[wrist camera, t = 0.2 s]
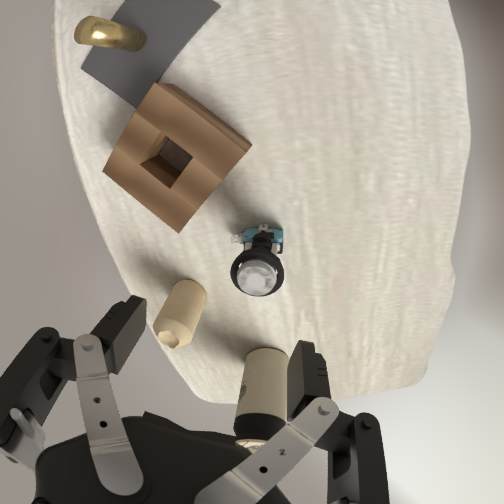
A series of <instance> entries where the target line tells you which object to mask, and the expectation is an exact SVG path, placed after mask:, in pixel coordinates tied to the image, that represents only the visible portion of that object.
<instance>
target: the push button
mask: <svg viewBox="0 0 504 504" xmlns="http://www.w3.org/2000/svg"><path fill="white" fill-rule="evenodd" d="M262 226H265V227H262ZM232 235H233V237H231V242H232V243H240V244H244V251H243V252H242V253H241V254H240V255H239V256H238V257H237V258H236V259H235V260H234V262H233V264H232V267H231V271H230V274H231V279H232V281H233V283H234V285H235V286H236V287H237V288H238V289H239V290H240V291H242V292H244V293H246V294H248V295H251V296H267V295H270V294H272V293H274V292H276V291H277V290H278V289H279V288H280V287H281V285H282V283H283V280H284V269H283V266H282V264H281V261H280V259H279V258H278V257H277V254H281V253H282V252H283V229H268V225H267V224H260V225H259V228H247V229H246V230H245V233H241V234H232ZM235 235H237V236H238V237H235ZM234 239H237V241H234ZM240 263H242V265H241V267H240V268H239V265H240ZM276 270H277V272H278V273H277V275H276V273H275V272H276Z"/></svg>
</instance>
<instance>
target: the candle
mask: <svg viewBox="0 0 504 504" xmlns="http://www.w3.org/2000/svg"><path fill="white" fill-rule="evenodd" d="M206 300H207V294H206V291H205V290H204V288H203V287H202V286H201V285H200V284H198V283H197V282H195V281H192V280H180V281H178V282H177V283H176V284H175V285H174V287H173V288H172V290H171V292H170V294H169V296H168V298H167V299H166V301H165V303H164V305H163V307H162V309H161V311H160V312H159V314H158V316H157V318H156V320H155V322H154V324H153V328H154V331H155V333H156V335H157V337H158V339H159V341H160V342H161V343H162V344H165V345H168V346H169V347H170V348H176V347H182V346H186V345H188V344H189V343H190V342H191V340H192V338H193V335H194V332H195V330H196V327H197V324H198V322H199V319H200V316H201V314H202V311H203V308H204V306H205V303H206Z"/></svg>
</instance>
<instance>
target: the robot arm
mask: <svg viewBox="0 0 504 504" xmlns="http://www.w3.org/2000/svg"><path fill="white" fill-rule="evenodd" d="M146 305H147V301H146V299H144V298H141V297H138V296H135V295H132V296H131V297H130V298H129V299H128V300H127V302H123V301H120V302H118V303H116V304H115V305H113V306H112V307H111V309H110V310H109V311H108V312H107V313H106V315H105V316H104V317H103V318H102V319H101V320H100V322H99V323H98V324H97V325H96V327H95V328H94V329H93V330H92V332H91V333H90V334H83V335H80V336H78V337H77V338H76V339H75V340H72V339H66V338H60V336H59V333H58V331H57V330H56V329H54V328H51V327H44V328H41V329H39V330H38V331H37V332H36V333H35V334H34V335H33V336H32V338H31V339H30V340H29V341H28V342H27V344H26V345H25V346H24V347H23V349H22V350H21V351H20V352H19V354H18V355H17V356H16V357H15V359H14V360H13V361H12V363H11V364H10V365H9V367H8V368H7V369H6V371H5V372H4V374H3V375H2V376H1V377H0V453H1V454H3V455H4V456H6V457H7V458H8V459H9V460H10V461H12V462H14V463H20V464H21V465H23V466H25V467H26V468H27V469H29V470H30V471H32V472H34V473H35V475H36V493H35V498H34V500H33V502H32V503H31V504H291V503H290V502H289V501H288V499H287V498H286V497H285V496H284V494H283V493H282V492H281V490H280V489H279V488H278V487H277V485H276V484H277V483H278V482H279V481H280V480H281V479H282V478H283V477H284V476H285V475H287V473H289V471H291V470H292V469H293V467H294V466H295V465H296V464H297V463H298V462H299V461H300V460H301V459H302V458H303V457H304V456H305V455H306V454H307V453H308V451H309V450H310V449H311V448H312V447H313V446H315V447H318V448H321V449H324V450H326V451H328V493H327V504H390V503H389V491H388V481H387V472H386V464H385V456H384V450H383V443H382V436H381V430H380V424H379V422H378V420H377V418H376V417H375V416H373V415H371V414H369V413H360V414H358V415H357V416H356V417H354V416H351V415H348V414H345V413H343V412H341V411H339V408H338V406H337V404H336V403H335V402H334V401H333V400H331V394H330V387H329V380H328V373H327V367H326V361H325V360H324V358H323V356H322V355H321V354H319V353H315V347H314V343H313V342H308V341H303V340H299V341H298V343H297V345H296V347H295V349H294V351H293V353H292V356H291V358H290V360H289V363H288V367H287V421H290V422H291V423H290V424H286V425H285V426H284V427H283V428H282V429H281V430H280V431H279V432H277V433H276V434H275V435H274V436H273V437H272V438H271V439H270V440H268V441H267V442H266V443H265V444H264V445H263V446H261V447H260V448H259V449H258V450H257V451H255V452H254V453H252V452H251V451H249V450H248V449H247V448H245V447H244V446H242V445H240V444H238V443H236V436H231V435H226V434H221V433H217V432H210V431H207V432H206V431H190V430H187V429H185V428H183V427H181V426H179V425H177V424H175V423H174V422H172V421H170V420H168V419H166V418H163V417H161V416H158V415H155V414H152V413H149V412H146V411H145V413H144V414H143V417H142V416H128V417H123V418H121V417H120V414H119V410H118V407H117V404H116V400H115V397H114V394H113V390H112V386H111V383H110V379H109V374H110V373H111V372H112V373H114V374H116V375H117V374H118V373H119V371H120V370H121V368H122V366H123V365H124V363H125V361H126V360H127V358H128V356H129V355H130V353H131V351H132V350H133V348H134V346H135V345H136V343H137V342H138V340H139V338H140V337H141V335H142V333H143V332H144V329H145V326H146ZM68 380H71V381H76V383H77V389H78V395H79V400H80V406H81V411H82V416H83V420H84V424H85V429H86V433H84V434H82V435H79V436H77V437H74V438H72V439H69V440H66V441H64V442H61V443H58V444H56V445H53V446H50V447H48V448H46V449H45V450H44V448H43V445H44V440H45V433H44V430H43V429H42V425H43V423H44V422H45V420H46V418H47V416H48V414H49V412H50V410H51V409H52V407H53V405H54V403H55V402H56V400H57V398H58V396H59V395H60V393H61V391H62V390H63V388H64V386H65V384H66V383H67V381H68Z"/></svg>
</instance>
